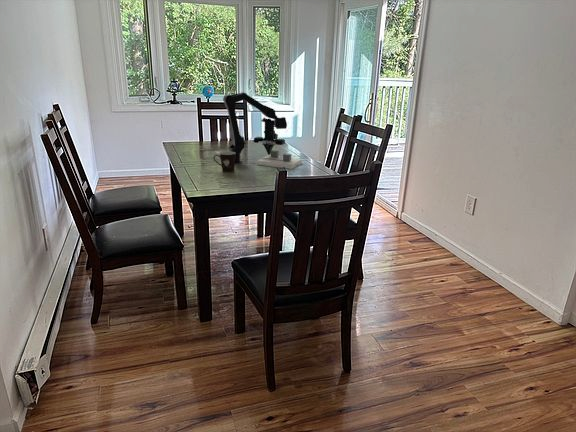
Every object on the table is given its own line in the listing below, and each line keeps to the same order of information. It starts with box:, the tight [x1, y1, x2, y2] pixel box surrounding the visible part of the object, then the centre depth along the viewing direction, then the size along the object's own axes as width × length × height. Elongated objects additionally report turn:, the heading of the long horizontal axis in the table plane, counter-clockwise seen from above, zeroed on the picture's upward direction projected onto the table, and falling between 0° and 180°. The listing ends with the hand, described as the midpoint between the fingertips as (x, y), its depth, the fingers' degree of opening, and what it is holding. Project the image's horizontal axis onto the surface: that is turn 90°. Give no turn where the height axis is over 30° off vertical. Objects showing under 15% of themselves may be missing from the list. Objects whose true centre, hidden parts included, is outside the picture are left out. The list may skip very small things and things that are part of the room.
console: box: [256, 155, 303, 170], centre depth 257 cm, size 16×22×3 cm
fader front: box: [282, 153, 292, 161], centre depth 253 cm, size 3×4×4 cm
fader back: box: [270, 149, 280, 158], centre depth 262 cm, size 3×4×4 cm
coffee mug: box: [213, 151, 236, 173], centre depth 237 cm, size 12×9×10 cm
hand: (269, 154), depth 263 cm, fingers closed
